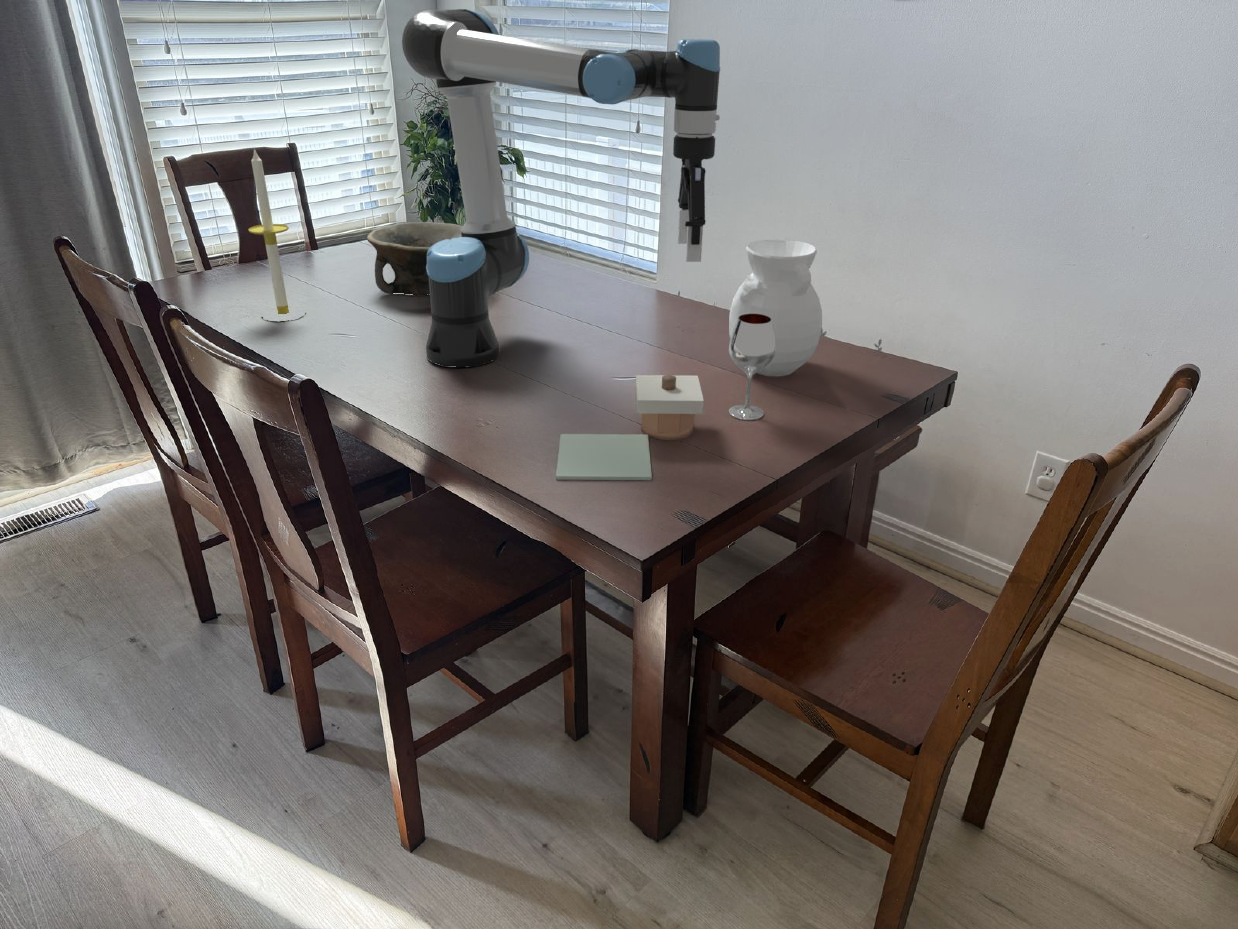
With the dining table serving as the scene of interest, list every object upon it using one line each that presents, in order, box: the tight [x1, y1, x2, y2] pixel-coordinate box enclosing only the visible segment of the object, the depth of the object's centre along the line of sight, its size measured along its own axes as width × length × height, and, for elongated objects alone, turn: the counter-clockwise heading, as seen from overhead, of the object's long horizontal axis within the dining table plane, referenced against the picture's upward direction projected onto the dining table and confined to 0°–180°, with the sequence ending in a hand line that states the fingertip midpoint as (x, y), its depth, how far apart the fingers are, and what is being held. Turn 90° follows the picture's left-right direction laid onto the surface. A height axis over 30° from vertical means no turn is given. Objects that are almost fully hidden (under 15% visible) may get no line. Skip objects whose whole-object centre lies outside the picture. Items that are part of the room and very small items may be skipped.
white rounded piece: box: [728, 239, 823, 377], centre depth 172 cm, size 19×18×25 cm
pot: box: [640, 413, 695, 441], centre depth 150 cm, size 9×9×6 cm
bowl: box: [366, 221, 463, 296], centre depth 219 cm, size 27×26×15 cm
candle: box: [248, 147, 289, 314], centre depth 194 cm, size 10×10×38 cm
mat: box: [555, 433, 652, 481], centre depth 142 cm, size 15×15×1 cm
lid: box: [635, 374, 705, 415], centre depth 148 cm, size 11×11×4 cm
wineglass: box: [728, 314, 776, 421], centre depth 154 cm, size 8×8×18 cm
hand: (688, 252), depth 166 cm, fingers open, 13 cm apart
